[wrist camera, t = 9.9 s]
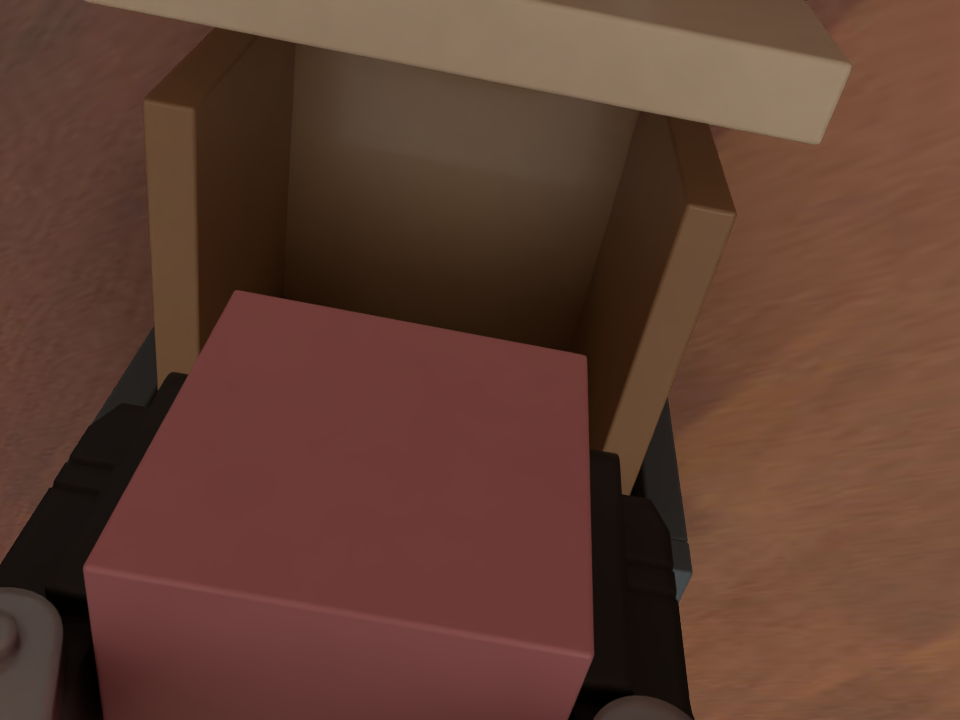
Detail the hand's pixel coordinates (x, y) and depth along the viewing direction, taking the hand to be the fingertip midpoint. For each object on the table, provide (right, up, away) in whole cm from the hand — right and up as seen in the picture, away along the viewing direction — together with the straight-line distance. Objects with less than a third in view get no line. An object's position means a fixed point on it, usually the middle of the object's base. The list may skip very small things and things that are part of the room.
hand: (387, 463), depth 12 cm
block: (0, 0, 0) cm, 0 cm away
